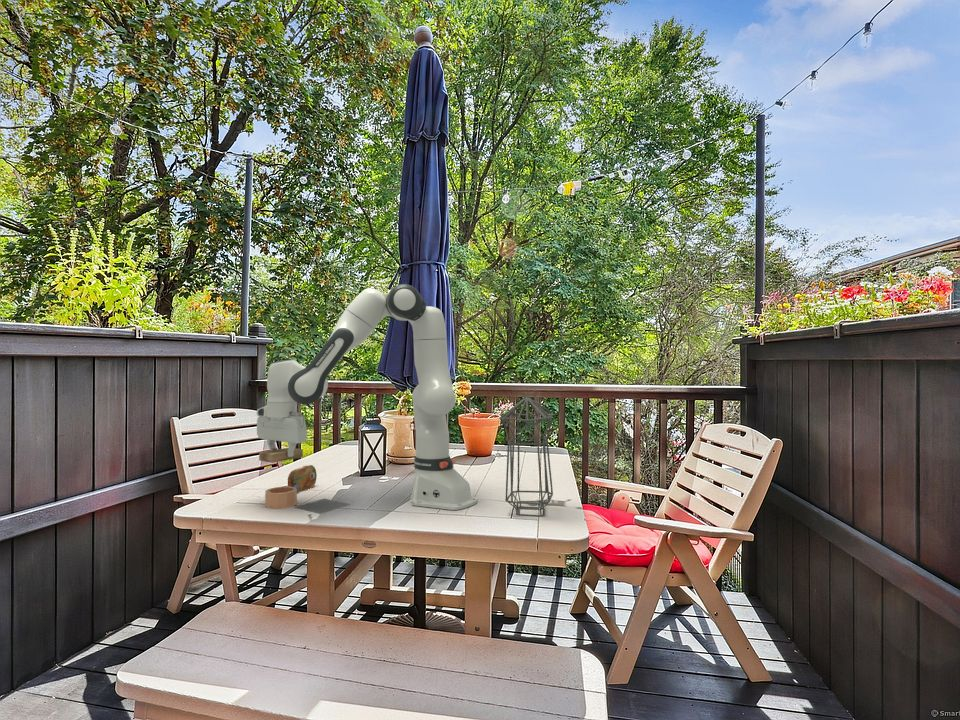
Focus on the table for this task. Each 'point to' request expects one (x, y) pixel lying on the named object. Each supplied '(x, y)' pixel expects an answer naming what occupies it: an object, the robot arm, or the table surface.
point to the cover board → (279, 455)
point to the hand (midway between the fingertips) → (281, 455)
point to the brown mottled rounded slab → (302, 478)
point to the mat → (322, 506)
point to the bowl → (280, 497)
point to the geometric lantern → (545, 416)
